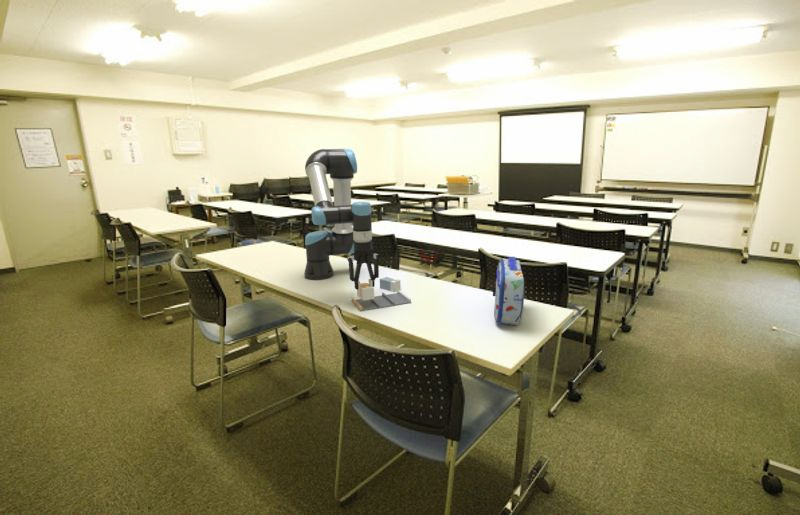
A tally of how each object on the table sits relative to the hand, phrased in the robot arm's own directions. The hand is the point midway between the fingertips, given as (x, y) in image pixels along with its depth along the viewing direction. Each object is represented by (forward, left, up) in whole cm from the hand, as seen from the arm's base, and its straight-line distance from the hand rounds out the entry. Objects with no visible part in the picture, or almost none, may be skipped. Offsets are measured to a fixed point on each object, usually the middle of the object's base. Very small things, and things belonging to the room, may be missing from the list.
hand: (365, 295), depth 161 cm
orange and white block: (0, 0, 0) cm, 1 cm away
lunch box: (+34, +46, -4) cm, 58 cm away
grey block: (-15, +17, -4) cm, 23 cm away
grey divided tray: (0, +7, -4) cm, 8 cm away
